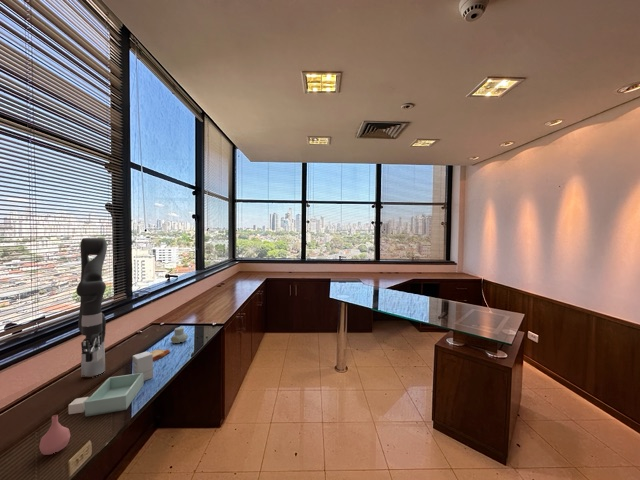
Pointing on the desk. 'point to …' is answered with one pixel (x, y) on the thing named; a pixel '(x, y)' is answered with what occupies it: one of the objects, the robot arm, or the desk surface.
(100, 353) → the tin block
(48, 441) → the pink vase
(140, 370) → the supplement box
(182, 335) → the air freshener
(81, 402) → the cream box
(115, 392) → the tote
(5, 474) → the desk surface
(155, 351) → the slice of bread
